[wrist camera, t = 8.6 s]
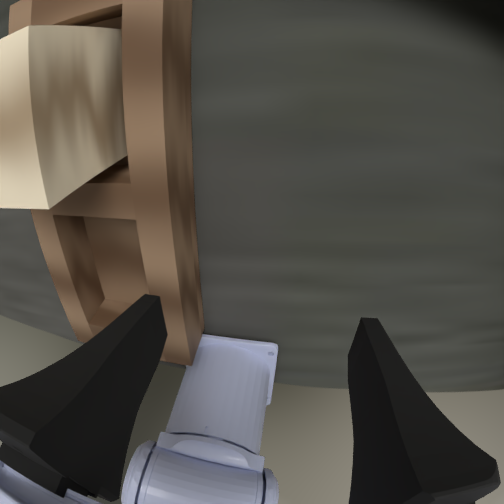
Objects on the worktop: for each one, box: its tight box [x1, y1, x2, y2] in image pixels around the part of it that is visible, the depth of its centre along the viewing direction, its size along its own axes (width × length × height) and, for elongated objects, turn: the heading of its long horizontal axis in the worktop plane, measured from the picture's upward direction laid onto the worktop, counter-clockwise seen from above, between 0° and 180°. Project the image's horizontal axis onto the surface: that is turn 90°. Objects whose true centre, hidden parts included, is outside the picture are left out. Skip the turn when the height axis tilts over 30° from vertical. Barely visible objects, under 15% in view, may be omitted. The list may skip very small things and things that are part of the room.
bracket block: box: [0, 25, 128, 209], centre depth 12 cm, size 7×4×8 cm, turn 178°
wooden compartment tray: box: [9, 0, 205, 366], centre depth 17 cm, size 25×10×4 cm, turn 178°
